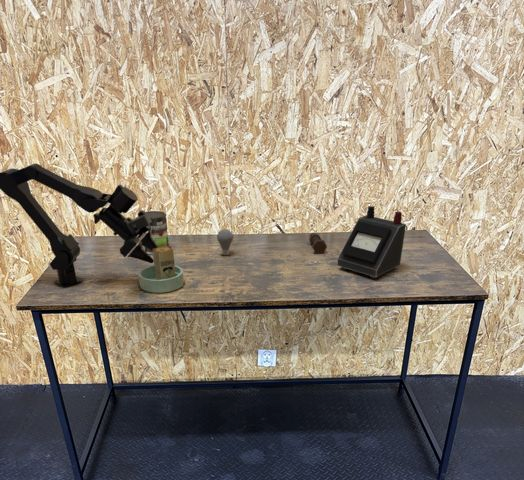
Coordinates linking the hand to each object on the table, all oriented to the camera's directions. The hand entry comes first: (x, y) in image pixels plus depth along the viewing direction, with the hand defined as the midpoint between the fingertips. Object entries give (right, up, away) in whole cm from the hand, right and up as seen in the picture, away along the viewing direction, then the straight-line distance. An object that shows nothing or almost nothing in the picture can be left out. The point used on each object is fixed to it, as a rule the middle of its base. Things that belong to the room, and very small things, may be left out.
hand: (156, 257), depth 161 cm
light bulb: (+20, +6, +30) cm, 37 cm away
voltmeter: (+72, -1, +17) cm, 74 cm away
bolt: (+56, +11, +38) cm, 68 cm away
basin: (+1, -8, +5) cm, 10 cm away
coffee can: (-8, +9, +35) cm, 36 cm away
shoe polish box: (+2, -8, +5) cm, 10 cm away
